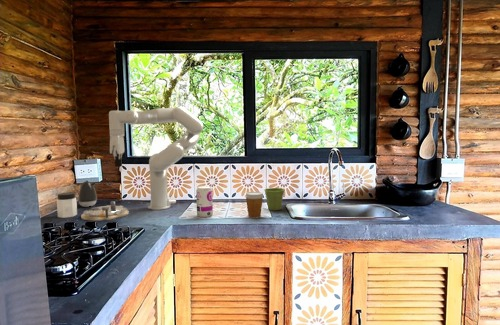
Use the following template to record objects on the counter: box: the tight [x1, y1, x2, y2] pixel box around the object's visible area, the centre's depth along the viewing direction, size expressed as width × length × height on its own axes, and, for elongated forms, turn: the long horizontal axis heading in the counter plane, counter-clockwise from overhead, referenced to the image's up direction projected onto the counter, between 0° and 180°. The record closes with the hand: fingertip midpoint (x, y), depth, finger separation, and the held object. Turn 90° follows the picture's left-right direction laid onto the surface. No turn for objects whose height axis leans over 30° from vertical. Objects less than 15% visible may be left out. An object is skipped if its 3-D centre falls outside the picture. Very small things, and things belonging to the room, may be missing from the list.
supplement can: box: [195, 185, 214, 218], centre depth 167 cm, size 8×8×15 cm
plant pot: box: [263, 187, 286, 211], centre depth 180 cm, size 12×12×11 cm
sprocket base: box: [80, 208, 130, 222], centre depth 171 cm, size 23×23×5 cm
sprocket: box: [83, 200, 127, 217], centre depth 170 cm, size 21×21×6 cm
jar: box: [56, 191, 78, 219], centre depth 169 cm, size 9×8×12 cm
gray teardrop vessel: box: [77, 180, 98, 208], centre depth 193 cm, size 10×10×15 cm
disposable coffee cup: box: [244, 191, 265, 218], centre depth 165 cm, size 10×10×12 cm
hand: (118, 166), depth 178 cm, fingers closed
